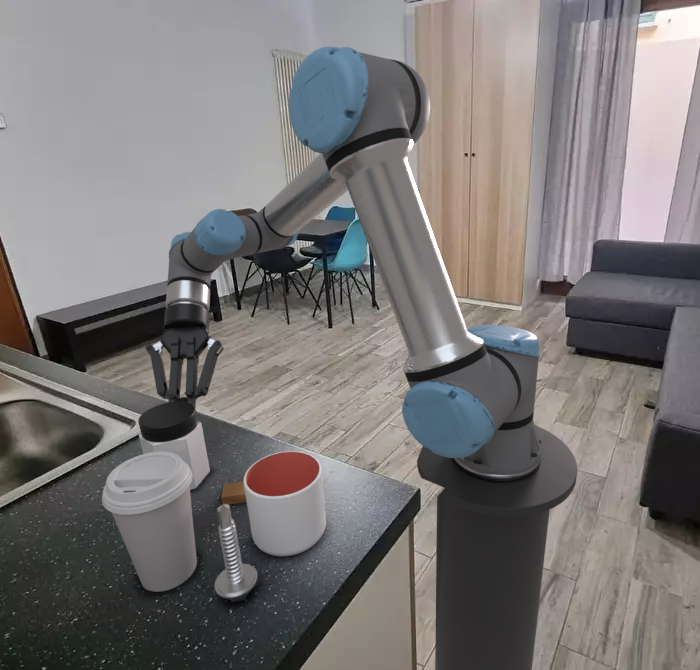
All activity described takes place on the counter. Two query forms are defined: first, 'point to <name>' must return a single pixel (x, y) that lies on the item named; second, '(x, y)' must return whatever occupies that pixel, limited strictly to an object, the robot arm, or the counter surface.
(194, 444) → the jar
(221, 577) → the screw
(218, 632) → the counter surface
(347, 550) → the counter surface
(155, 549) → the coffee cup
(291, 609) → the counter surface
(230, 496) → the brown wooden bar
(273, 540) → the cup
